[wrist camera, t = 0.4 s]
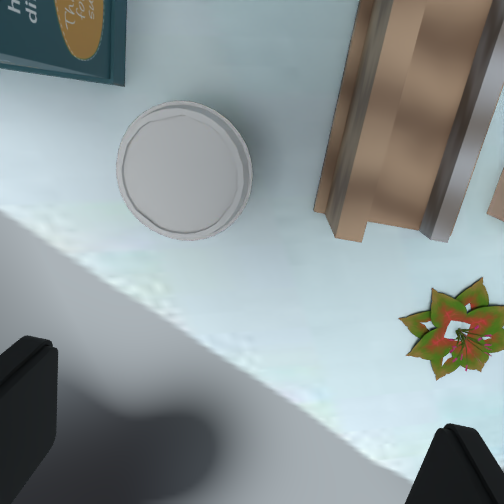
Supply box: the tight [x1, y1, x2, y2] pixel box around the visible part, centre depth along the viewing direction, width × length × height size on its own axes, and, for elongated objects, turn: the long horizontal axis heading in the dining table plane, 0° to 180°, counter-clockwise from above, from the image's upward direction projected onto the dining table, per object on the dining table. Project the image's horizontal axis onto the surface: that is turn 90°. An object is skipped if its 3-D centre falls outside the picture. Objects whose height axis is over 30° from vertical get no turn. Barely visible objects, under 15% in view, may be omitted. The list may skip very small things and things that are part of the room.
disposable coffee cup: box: [116, 101, 253, 241], centre depth 31 cm, size 10×10×12 cm
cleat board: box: [313, 0, 504, 243], centre depth 30 cm, size 20×13×9 cm, turn 171°
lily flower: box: [399, 277, 504, 381], centre depth 39 cm, size 12×12×5 cm
